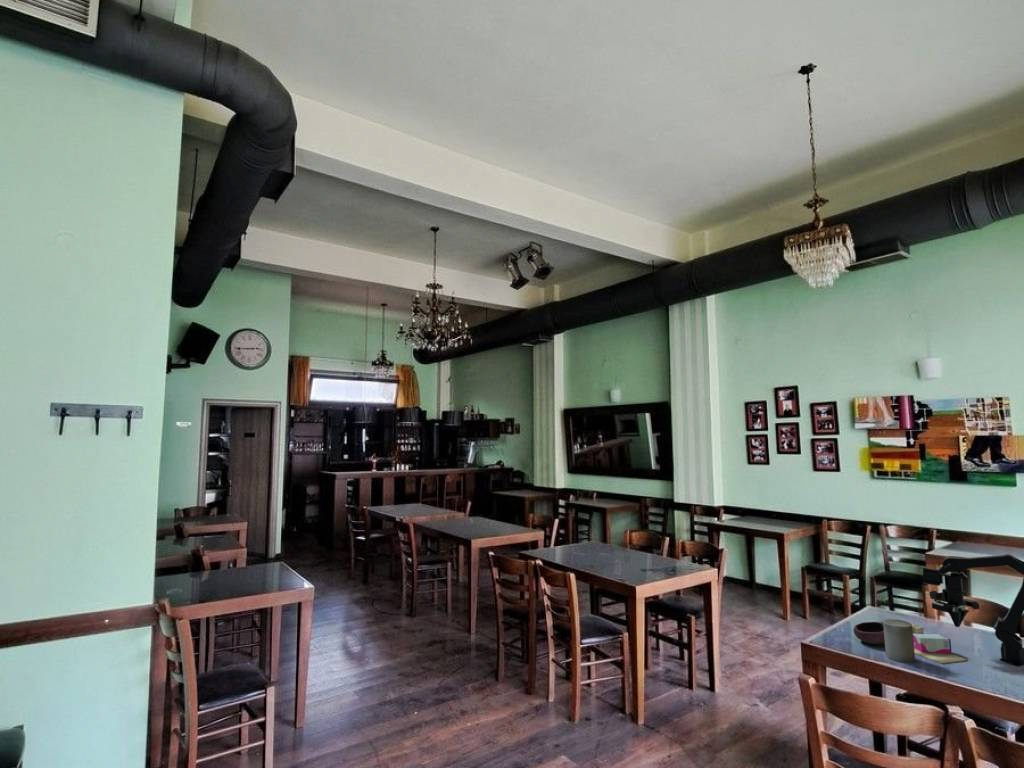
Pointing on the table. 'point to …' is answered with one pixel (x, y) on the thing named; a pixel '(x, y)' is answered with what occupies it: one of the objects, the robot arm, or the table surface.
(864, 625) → the bowl
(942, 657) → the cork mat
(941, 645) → the supplement box
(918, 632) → the beech block
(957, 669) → the table surface
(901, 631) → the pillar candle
